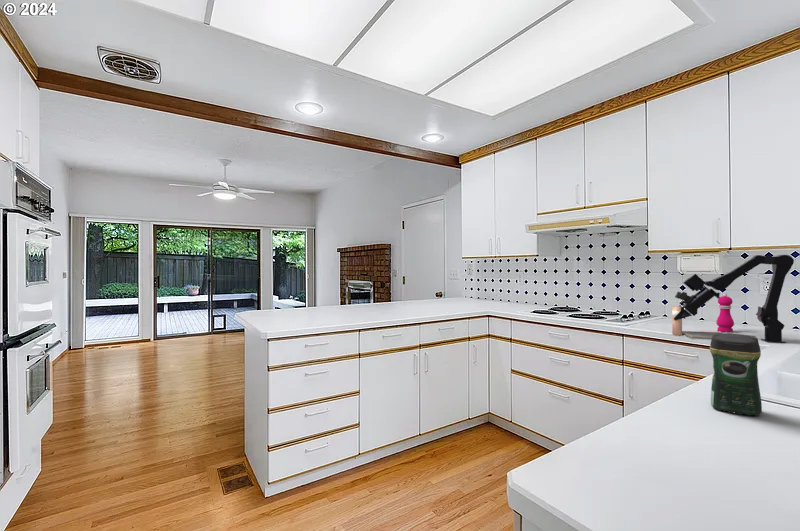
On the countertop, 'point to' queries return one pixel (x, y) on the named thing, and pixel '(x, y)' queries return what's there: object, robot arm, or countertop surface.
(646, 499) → the countertop surface
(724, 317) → the pepper mill
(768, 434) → the countertop surface
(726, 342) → the coffee jar
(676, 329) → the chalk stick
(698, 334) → the slate board
